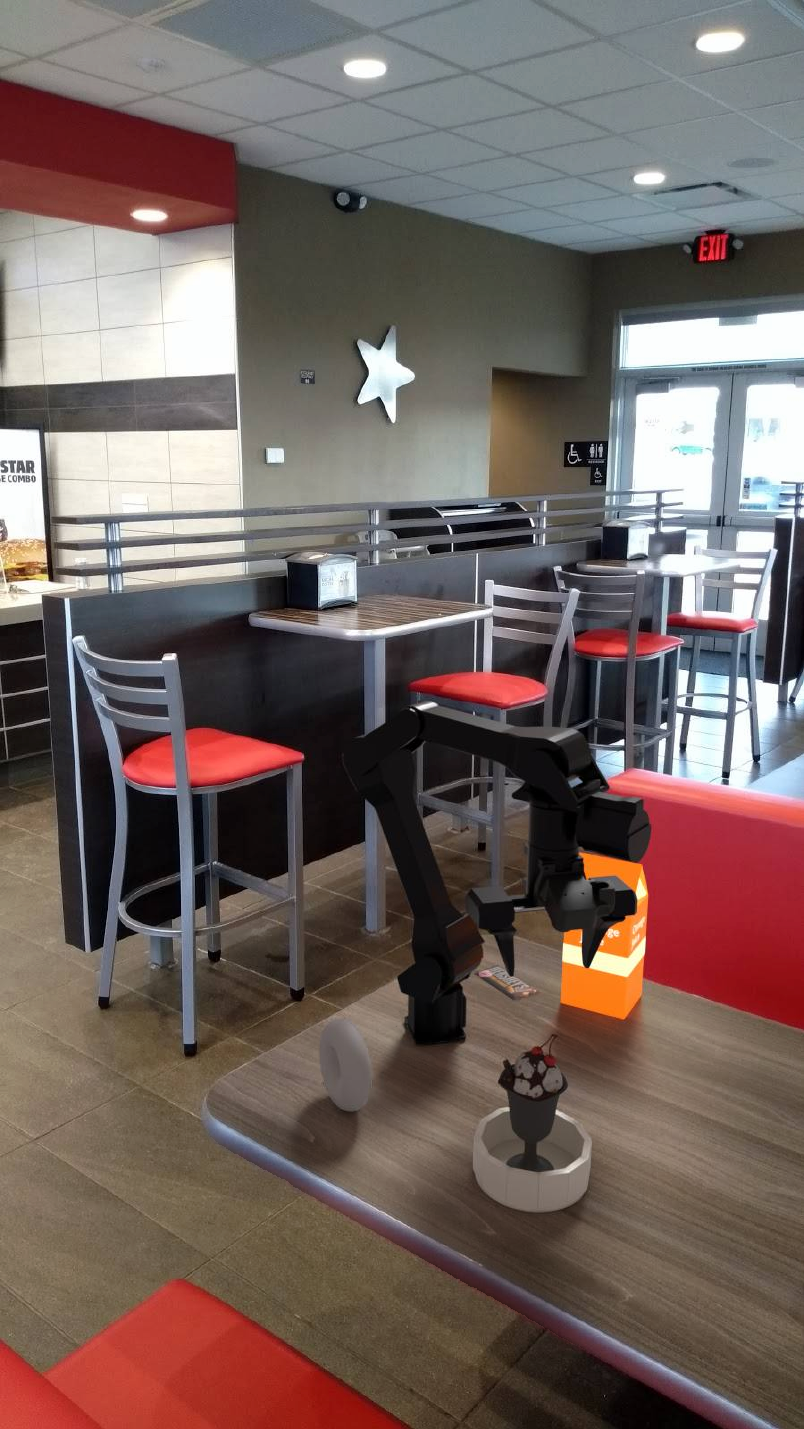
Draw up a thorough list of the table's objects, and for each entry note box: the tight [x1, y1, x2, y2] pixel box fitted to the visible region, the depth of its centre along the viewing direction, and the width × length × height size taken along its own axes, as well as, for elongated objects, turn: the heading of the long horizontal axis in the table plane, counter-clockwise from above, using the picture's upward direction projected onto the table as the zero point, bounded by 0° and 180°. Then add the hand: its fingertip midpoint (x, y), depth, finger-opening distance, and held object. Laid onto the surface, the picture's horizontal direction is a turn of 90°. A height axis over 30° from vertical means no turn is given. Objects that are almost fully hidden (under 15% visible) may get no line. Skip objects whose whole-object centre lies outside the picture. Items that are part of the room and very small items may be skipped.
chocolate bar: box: [473, 964, 543, 1002], centre depth 148 cm, size 11×5×1 cm, turn 33°
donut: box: [318, 1017, 373, 1112], centre depth 118 cm, size 10×3×10 cm, turn 25°
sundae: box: [497, 1033, 569, 1172], centre depth 106 cm, size 7×7×15 cm
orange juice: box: [560, 851, 649, 1020], centre depth 141 cm, size 8×9×20 cm
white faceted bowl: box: [472, 1106, 593, 1214], centre depth 108 cm, size 11×11×4 cm
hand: (548, 971), depth 123 cm, fingers open, 9 cm apart
